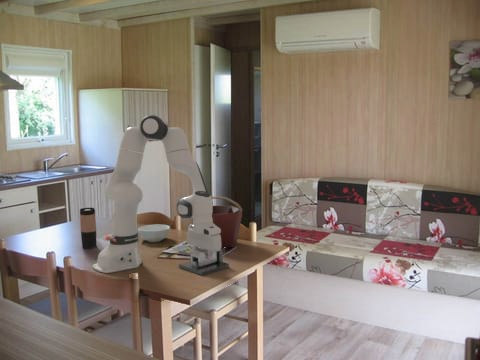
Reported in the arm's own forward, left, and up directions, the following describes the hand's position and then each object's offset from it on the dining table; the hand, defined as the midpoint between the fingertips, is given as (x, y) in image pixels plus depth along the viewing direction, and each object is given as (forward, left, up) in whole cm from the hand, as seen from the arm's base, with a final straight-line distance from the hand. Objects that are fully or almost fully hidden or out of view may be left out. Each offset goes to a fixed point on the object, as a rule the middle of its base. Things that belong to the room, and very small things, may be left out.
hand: (203, 257), depth 244 cm
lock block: (0, 0, -2) cm, 2 cm away
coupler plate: (0, 0, -5) cm, 5 cm away
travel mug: (-19, +69, -5) cm, 72 cm away
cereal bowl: (+12, +55, -5) cm, 56 cm away
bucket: (+31, +23, -5) cm, 39 cm away
